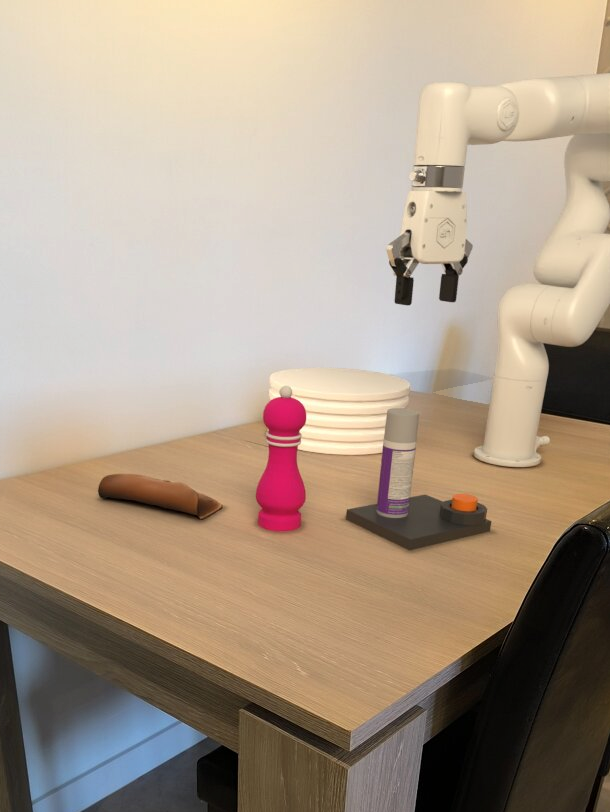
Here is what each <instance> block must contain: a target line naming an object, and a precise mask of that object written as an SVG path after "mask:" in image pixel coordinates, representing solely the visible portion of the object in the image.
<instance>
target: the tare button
mask: <svg viewBox="0 0 610 812" xmlns="http://www.w3.org/2000/svg"><path fill="white" fill-rule="evenodd" d="M451 500H452V505H451V508H454V509H456V510H460V511H476V508H477V503H479V502H478V501H479V497H477V496H475V495H473V494H468V493H456V494H453V495H452V498H451Z"/></svg>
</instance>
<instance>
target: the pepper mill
mask: <svg viewBox="0 0 610 812" xmlns="http://www.w3.org/2000/svg"><path fill="white" fill-rule="evenodd" d="M279 393H280V396H281V397H277V398H274V399H272V400H271V399H270V400H271V401H270V400H269V401H268V402H267V403H266V405H265V406H264V408H263V413H262V421H263V423H264V426H265V427H266V428H267V431H266V432H265V436H266V438H265V442H266V444H267V445H268V457H267V462H266V466H265V468H264V471H263V473H262V475H261V477H260V479H259V481H258V483H257V486H256V490H255V500H256V503H257V505H258V506H259V508H261V509H259V511H258V515H257V524H258V526H259V527H260V528H262V529H265V530H268V531H272V532H291V531H295V530H298V529H299V528H300V527H301V525H302V513H301V511H299V510H300V509H301V508H302V507H304V504H305V503H306V500H307V495H306V492H307V491H306V487H305V483H304V480H303V478H302V475H301V473H300V469H299V466H298V445H300V444H301V437H302V434H301V433H300V432H299V431H300V430H301V429H302V428H303V426H304V425H305V423H306V410H305V408H304V406H303V404H302V403H301V402H300V401H298V400H297V399H295V398H292V397H291V396H292V389H291V388H290V387H289V386H283V387H281V389H280V391H279ZM268 430H269V431H268Z"/></svg>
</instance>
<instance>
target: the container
mask: <svg viewBox="0 0 610 812" xmlns="http://www.w3.org/2000/svg"><path fill="white" fill-rule="evenodd" d="M419 416H420V412H419V411H418V410H415V409H411V408H407V409H405V408H392V409H388V410H387V417H386V425H385V433H384V441H383V450H382V453H381V460H380V461H381V462H380V471H379V472H380V473H379V481H378V491H377V501H376V504H377V511H376V512H377V513H378V514H379V515H381V516H384V517H389V518H402V517H406V516H407V515H408V510H409V502H410V497H411V493H412V485H413V475H414V468H415V458H416V449H417V441H418V440H417V439H418V430H419V429H418V428H419V418H420V417H419Z"/></svg>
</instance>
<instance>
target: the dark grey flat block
mask: <svg viewBox="0 0 610 812" xmlns="http://www.w3.org/2000/svg"><path fill="white" fill-rule="evenodd" d="M451 505H452V499H448V500H444V501H443V500H440V499H438V498H435V497H432V496H431V495H428V494H420V495H415V496H410V502H409V510H408V515H407V516H406V517H402V518H389V517H384V516H381V515H379V514H378V513H377V512H376V511H377V503H374V504H368V505H367V504H366V505H363V506H358V507H352V508H347V509H346V513H345V521H347V522H349V523H352V524H353V525H356V526H358V527H360V528H362V529H364V530H366V531H369V532H370V533H372V534H374V535H376V536H377V537H381V538H383V539H384V540H387V541H389V542H390V543H392V544H395V545H397V546H399V547H401V548H403V549H405V550H407V551H413V550H418V549H421V548H426V547H432V546H434V545H439V544H442V543H447V542H451V541H455V540H460V539H464V538H468V537H473V536H477V535H482V534H485V533H490V532H491V527H492V520H490V519H487V514H488V508H487V507H486V506H485V504H482V503H480V502H477V508H476V511H460V510H456V509H454V508H451Z"/></svg>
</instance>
